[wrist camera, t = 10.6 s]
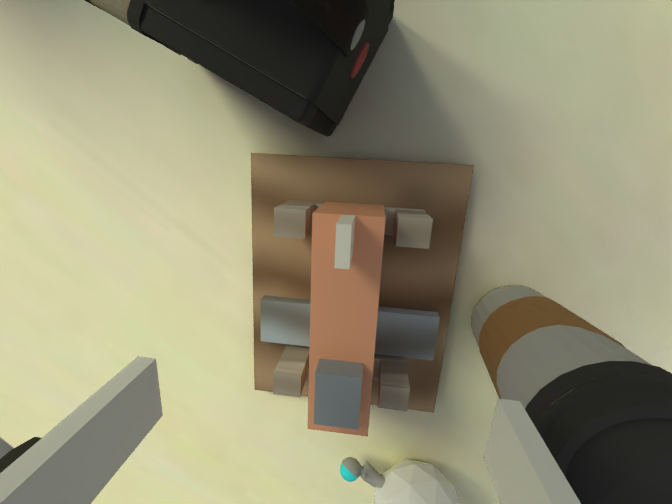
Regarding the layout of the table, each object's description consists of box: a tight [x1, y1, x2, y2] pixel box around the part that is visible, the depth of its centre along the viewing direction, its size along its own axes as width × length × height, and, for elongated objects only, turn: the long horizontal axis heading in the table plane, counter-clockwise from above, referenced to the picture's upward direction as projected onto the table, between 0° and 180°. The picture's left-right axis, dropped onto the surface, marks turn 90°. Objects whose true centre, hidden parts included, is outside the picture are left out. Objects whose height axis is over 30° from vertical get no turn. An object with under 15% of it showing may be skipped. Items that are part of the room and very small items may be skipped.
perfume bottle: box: [340, 457, 460, 504], centre depth 31 cm, size 8×8×12 cm
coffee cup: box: [471, 285, 672, 504], centre depth 21 cm, size 8×8×15 cm
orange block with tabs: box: [308, 202, 386, 436], centre depth 23 cm, size 16×4×9 cm, turn 178°
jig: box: [251, 153, 474, 412], centre depth 27 cm, size 22×17×6 cm
